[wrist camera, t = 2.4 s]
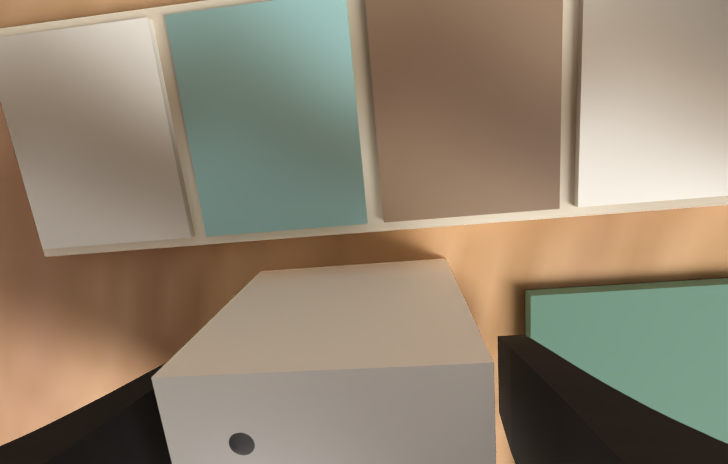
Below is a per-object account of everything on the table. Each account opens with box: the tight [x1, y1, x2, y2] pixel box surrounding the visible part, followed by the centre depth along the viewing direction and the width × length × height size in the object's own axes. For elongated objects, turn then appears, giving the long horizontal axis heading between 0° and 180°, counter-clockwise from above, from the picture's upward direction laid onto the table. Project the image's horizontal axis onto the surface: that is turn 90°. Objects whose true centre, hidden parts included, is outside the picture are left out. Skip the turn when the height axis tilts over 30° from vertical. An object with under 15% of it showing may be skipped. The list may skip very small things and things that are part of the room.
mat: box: [525, 278, 728, 444], centre depth 10 cm, size 9×9×1 cm
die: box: [151, 258, 496, 464], centre depth 8 cm, size 5×5×5 cm
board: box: [0, 0, 728, 257], centre depth 9 cm, size 6×22×1 cm, turn 96°
